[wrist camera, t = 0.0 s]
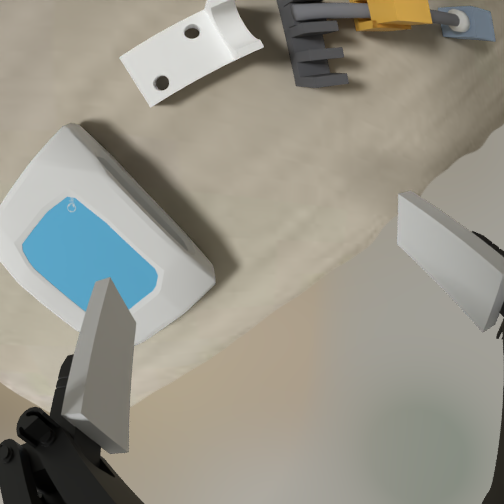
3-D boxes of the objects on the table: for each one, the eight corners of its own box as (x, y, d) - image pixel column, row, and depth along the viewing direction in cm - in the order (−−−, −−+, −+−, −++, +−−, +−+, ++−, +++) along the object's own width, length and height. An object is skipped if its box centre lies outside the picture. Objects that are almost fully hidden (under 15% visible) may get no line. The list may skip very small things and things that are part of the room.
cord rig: (296, 86, 35) (319, 88, 29) (265, -40, 26) (283, -61, 19) (466, 75, 37) (499, 81, 31) (449, -22, 27) (481, -26, 21)
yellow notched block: (356, 31, 30) (398, 24, 23) (348, -4, 27) (388, -19, 20) (388, 31, 30) (433, 27, 23) (381, -3, 28) (424, -13, 20)
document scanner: (121, 333, 50) (118, 360, 45) (-4, 223, 35) (-24, 244, 30) (215, 262, 46) (220, 288, 41) (78, 117, 32) (60, 124, 27)
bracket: (222, 6, 29) (230, -10, 22) (249, 53, 32) (264, 47, 26) (125, 59, 30) (110, 54, 23) (153, 105, 34) (146, 110, 27)
